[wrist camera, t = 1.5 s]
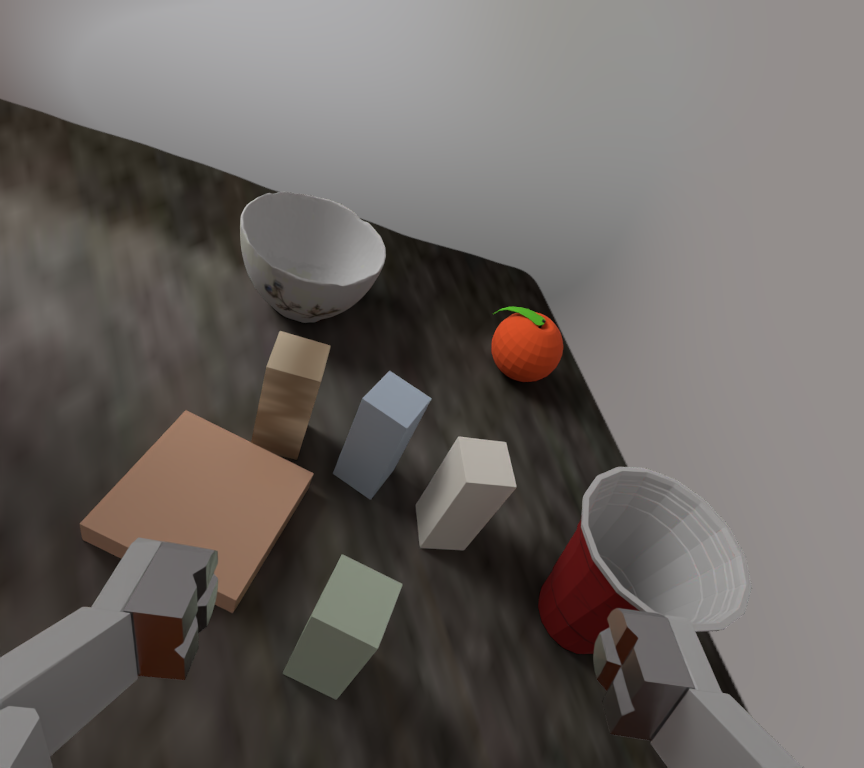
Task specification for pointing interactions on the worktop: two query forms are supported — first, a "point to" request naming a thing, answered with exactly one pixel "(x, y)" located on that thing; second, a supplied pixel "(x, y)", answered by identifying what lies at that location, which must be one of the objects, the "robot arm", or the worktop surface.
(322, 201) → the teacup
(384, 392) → the dusty blue post
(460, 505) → the cream post
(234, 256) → the worktop surface
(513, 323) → the clementine
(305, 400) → the beech post
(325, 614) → the sage green post
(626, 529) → the plastic cup
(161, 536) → the terracotta tile
